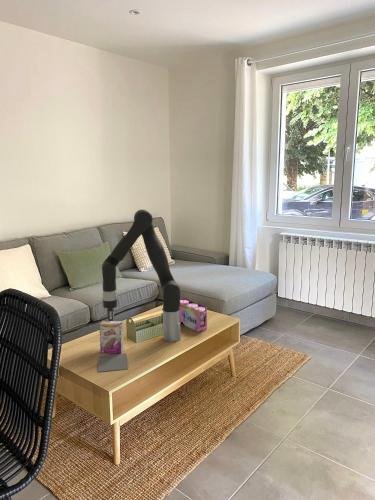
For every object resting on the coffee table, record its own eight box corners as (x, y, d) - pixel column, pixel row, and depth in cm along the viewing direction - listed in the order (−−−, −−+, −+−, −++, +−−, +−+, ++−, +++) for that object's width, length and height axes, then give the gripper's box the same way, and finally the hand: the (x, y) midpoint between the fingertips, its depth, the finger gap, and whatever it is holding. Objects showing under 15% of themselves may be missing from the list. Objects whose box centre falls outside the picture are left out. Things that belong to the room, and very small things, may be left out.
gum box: (208, 329, 231) (209, 308, 228) (198, 333, 226) (198, 311, 224) (185, 317, 250) (184, 297, 247) (174, 320, 245) (174, 300, 242)
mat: (126, 353, 201) (126, 353, 201) (127, 369, 186) (127, 368, 185) (98, 356, 198) (98, 355, 198) (97, 372, 183) (97, 371, 183)
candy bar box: (100, 353, 201) (98, 324, 198) (103, 349, 206) (101, 320, 203) (121, 354, 200) (120, 324, 197) (123, 350, 205) (122, 320, 202)
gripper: (117, 301, 200) (118, 333, 204) (116, 293, 213) (117, 323, 217) (102, 302, 199) (103, 334, 202) (102, 294, 212) (104, 324, 215)
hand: (111, 328), depth 210 cm, fingers closed
